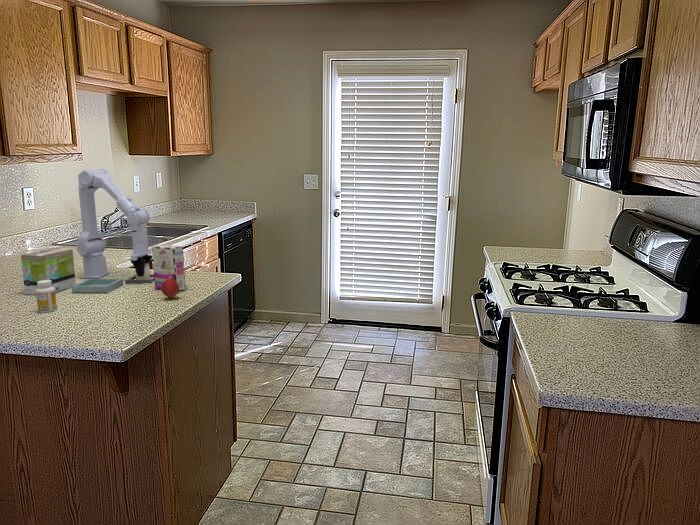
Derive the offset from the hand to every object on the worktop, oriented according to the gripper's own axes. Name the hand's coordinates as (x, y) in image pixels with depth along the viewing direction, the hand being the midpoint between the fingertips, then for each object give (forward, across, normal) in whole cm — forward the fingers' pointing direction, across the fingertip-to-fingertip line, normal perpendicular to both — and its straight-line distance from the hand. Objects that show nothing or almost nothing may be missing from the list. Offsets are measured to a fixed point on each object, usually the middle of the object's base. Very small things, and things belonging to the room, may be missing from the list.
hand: (143, 275), depth 216 cm
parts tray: (+2, -14, +12) cm, 18 cm away
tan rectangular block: (+2, 0, 0) cm, 2 cm away
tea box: (+3, -15, +28) cm, 32 cm away
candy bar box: (+3, -14, -16) cm, 21 cm away
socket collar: (+2, 0, 0) cm, 2 cm away
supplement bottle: (+3, -42, +14) cm, 44 cm away
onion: (+3, -27, -21) cm, 34 cm away
